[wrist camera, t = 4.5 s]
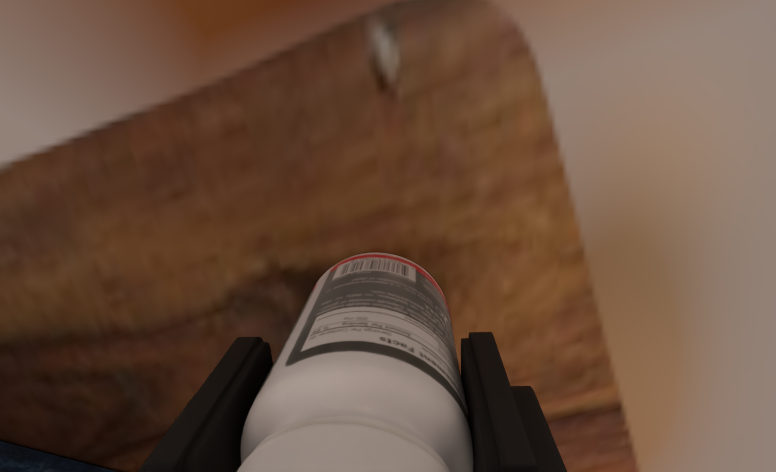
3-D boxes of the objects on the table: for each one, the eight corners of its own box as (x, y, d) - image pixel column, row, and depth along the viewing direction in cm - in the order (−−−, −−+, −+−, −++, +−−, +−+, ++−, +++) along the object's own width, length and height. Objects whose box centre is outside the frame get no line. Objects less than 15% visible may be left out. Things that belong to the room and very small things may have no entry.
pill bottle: (382, 396, 15) (348, 727, 7) (281, 314, 14) (117, 585, 6) (479, 314, 14) (569, 604, 6) (375, 218, 13) (316, 407, 5)
